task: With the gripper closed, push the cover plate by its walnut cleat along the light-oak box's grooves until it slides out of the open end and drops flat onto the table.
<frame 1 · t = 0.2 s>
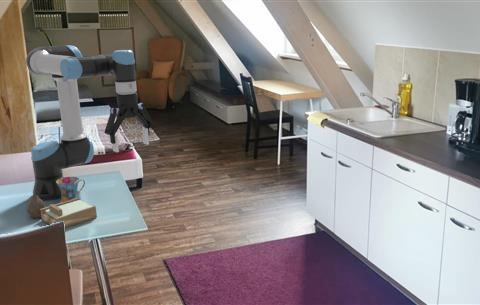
hand: (131, 147, 183), 28 cm above the table, fingers open, 13 cm apart
box: (69, 218, 189), on the table
mug: (73, 203, 205), on the table
lid: (70, 211, 188), point 3 cm above the table, touching box
vase: (37, 217, 192), on the table
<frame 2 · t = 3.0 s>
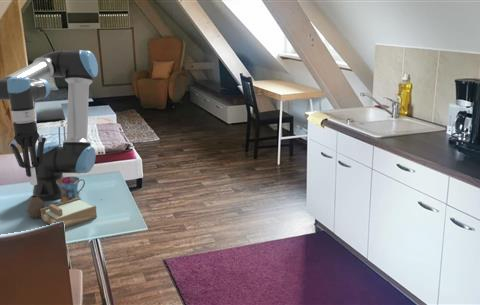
hand: (33, 184, 175), 18 cm above the table, fingers closed
nothing on the table moved.
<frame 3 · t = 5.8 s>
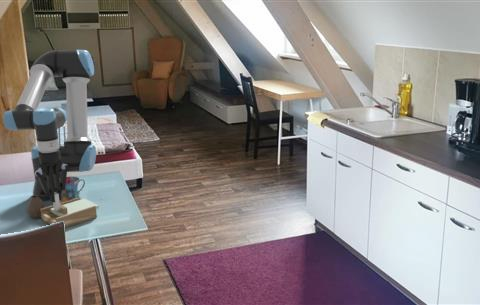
hand: (57, 209, 184), 6 cm above the table, fingers closed
lid: (74, 209, 189), point 3 cm above the table, touching box, gripper
everything else where it was.
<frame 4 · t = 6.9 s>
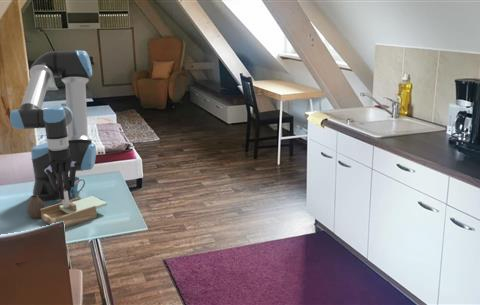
hand: (66, 206, 187), 6 cm above the table, fingers closed
lid: (83, 207, 192), point 3 cm above the table, touching box, gripper
everything else where it was.
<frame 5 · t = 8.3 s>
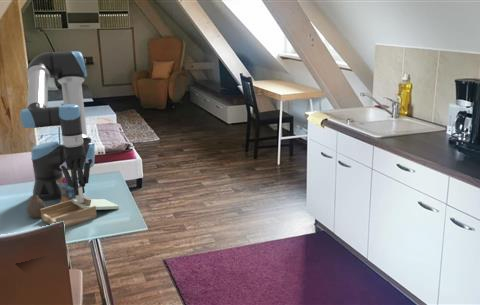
hand: (80, 201, 191), 6 cm above the table, fingers closed
lid: (95, 205, 196), point 2 cm above the table, tilted 16°, touching box, gripper
everything else where it was.
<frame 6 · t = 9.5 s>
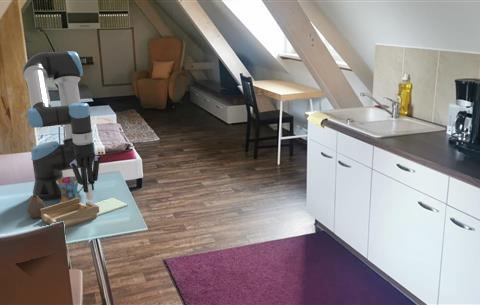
hand: (89, 198, 193), 6 cm above the table, fingers closed
lid: (105, 208, 199), on the table
everything else where it was.
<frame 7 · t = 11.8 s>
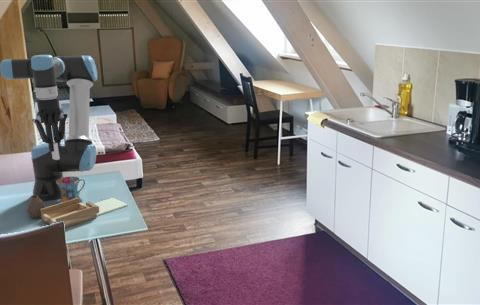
hand: (56, 158, 183), 25 cm above the table, fingers closed
nothing on the table moved.
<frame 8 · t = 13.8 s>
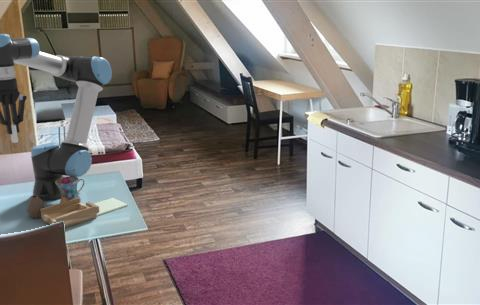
hand: (15, 141, 178), 32 cm above the table, fingers closed
mug: (73, 202, 205), on the table, touching arm
everything else where it was.
at the end: lid inside the target area (5.3 cm from its centre), on the table; lid touching table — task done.
